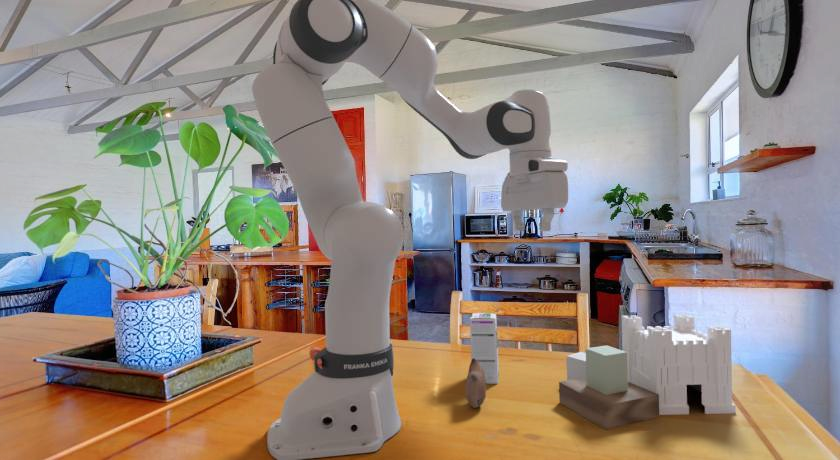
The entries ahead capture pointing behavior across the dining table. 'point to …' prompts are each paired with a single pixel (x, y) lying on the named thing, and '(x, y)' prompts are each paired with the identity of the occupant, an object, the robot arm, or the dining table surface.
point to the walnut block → (609, 403)
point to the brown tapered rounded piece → (475, 384)
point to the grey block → (576, 366)
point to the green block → (606, 369)
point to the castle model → (680, 363)
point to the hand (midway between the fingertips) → (531, 231)
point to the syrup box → (485, 344)
